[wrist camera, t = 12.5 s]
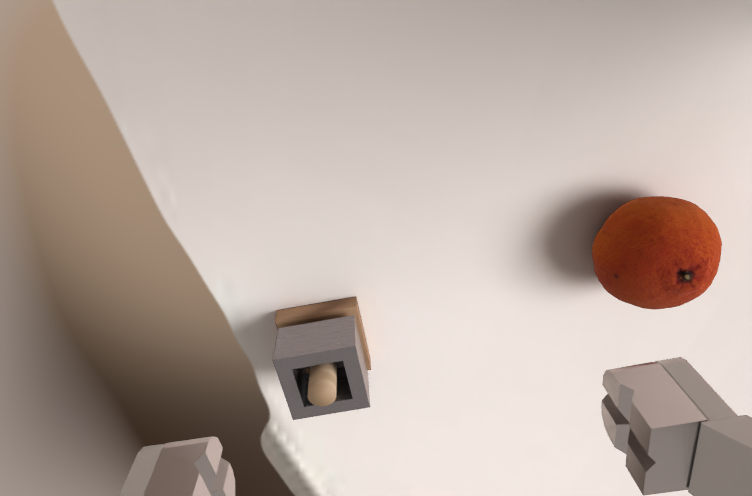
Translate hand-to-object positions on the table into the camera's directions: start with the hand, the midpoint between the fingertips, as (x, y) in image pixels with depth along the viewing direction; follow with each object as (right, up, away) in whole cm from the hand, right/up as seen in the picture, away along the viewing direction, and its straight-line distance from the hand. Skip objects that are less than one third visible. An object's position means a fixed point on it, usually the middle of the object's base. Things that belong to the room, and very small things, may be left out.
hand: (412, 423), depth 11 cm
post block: (-5, -4, +35) cm, 35 cm away
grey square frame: (-5, -5, +33) cm, 34 cm away
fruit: (+20, +5, +32) cm, 38 cm away
